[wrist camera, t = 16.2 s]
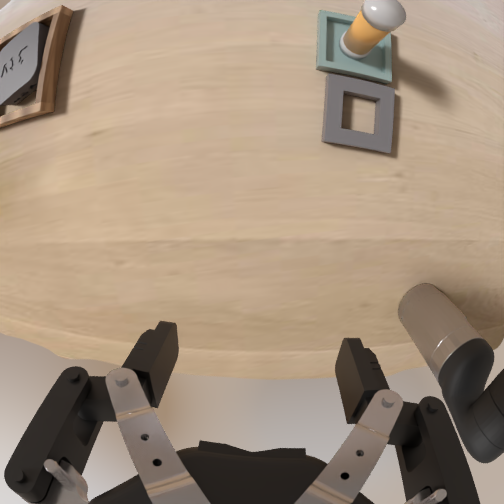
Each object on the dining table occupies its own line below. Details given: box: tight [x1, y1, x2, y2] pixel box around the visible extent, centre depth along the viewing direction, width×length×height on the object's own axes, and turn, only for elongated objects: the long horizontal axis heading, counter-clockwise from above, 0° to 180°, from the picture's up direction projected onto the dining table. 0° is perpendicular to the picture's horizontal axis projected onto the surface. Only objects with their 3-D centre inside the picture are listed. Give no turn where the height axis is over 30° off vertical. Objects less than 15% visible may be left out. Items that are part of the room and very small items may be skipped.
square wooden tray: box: [0, 5, 73, 128], centre depth 31 cm, size 22×22×4 cm
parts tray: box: [316, 10, 392, 84], centre depth 30 cm, size 11×10×2 cm
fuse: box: [339, 0, 406, 60], centre depth 24 cm, size 5×5×14 cm
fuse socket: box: [322, 74, 395, 153], centre depth 34 cm, size 10×10×2 cm
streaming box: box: [0, 22, 50, 105], centre depth 30 cm, size 14×14×5 cm
